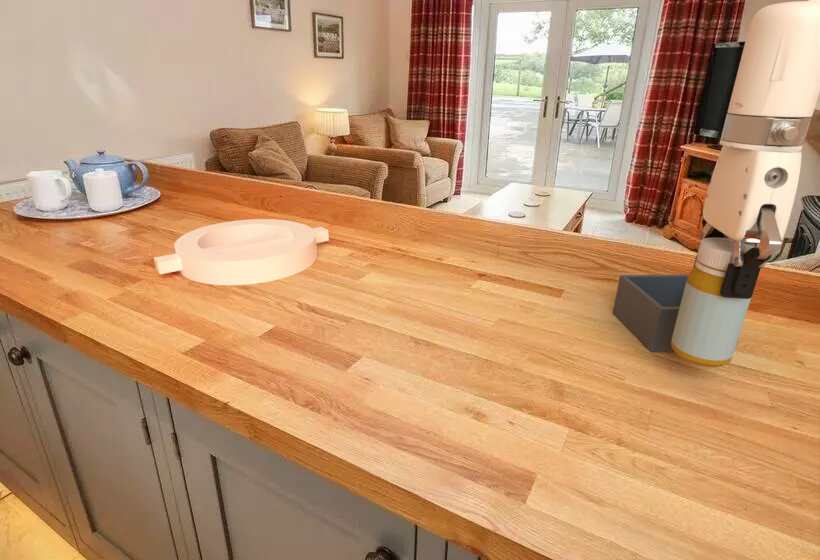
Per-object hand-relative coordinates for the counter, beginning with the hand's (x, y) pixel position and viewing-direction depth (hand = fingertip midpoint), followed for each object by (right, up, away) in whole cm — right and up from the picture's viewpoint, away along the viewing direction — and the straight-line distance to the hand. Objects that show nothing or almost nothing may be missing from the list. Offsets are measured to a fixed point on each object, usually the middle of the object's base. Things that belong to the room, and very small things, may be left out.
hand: (720, 282), depth 60 cm
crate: (+3, -8, +18) cm, 19 cm away
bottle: (0, -10, +4) cm, 10 cm away
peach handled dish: (-72, +5, +44) cm, 85 cm away
